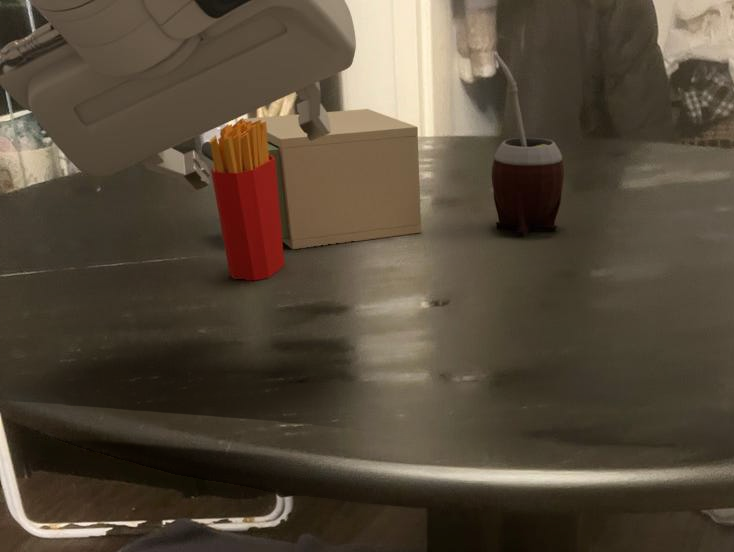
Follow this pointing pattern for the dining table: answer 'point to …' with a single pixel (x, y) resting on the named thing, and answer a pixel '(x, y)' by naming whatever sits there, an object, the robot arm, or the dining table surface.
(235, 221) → the french fries
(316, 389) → the dining table surface
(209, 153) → the drawer
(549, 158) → the mate gourd
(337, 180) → the cabinet
